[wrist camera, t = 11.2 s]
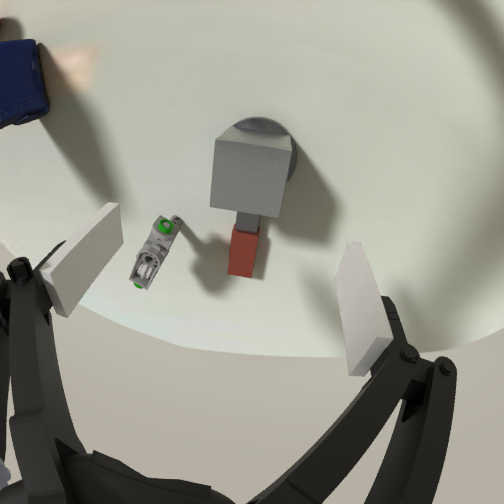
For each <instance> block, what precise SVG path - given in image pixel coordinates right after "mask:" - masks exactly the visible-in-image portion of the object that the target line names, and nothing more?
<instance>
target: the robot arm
mask: <svg viewBox="0 0 504 504" xmlns="http://www.w3.org/2000/svg"><path fill="white" fill-rule="evenodd" d="M123 243H124V242H123V235H122V227H121V218H120V209H119V203H111V202H108V203H107V204H106V205H105V206H104V207H102V208H101V209H100V210H99V211H98V212H97V213H96V214H94V215H93V216H92V217H91V218H90V219H89V220H88V221H87V222H86V223H85V224H83V225H82V226H81V227H80V228H79V229H78V230H77V231H76V232H75V233H74V234H73V235H72V236H71V237H70V238H69V239H68V240H67V241H66V240H65V241H63V242H61V243H60V244H58V245H57V246H56V247H55V248H54V249H53V250H52V251H51V252H50V253H49V254H48V255H47V257H45V258H44V259H43V260H42V261H41V262H40V263H39V264H38V265H37V266H36V267H35V269H34V270H32V267H31V265H30V262H29V259H28V258H27V257H19V258H16V259H15V260H13V261H12V262H11V263H10V264H9V265H8V266H7V271H8V274H9V276H10V278H11V280H6V279H5V277H4V274H3V273H2V272H0V504H235V503H234V502H233V501H232V500H231V499H229V498H228V497H226V496H225V495H223V494H221V493H219V492H217V491H215V490H212V489H211V486H208V485H203V484H198V483H193V482H189V481H184V480H180V479H158V478H148V477H145V476H143V475H141V474H140V473H138V472H136V471H135V470H133V469H132V468H130V467H129V466H127V465H125V464H124V463H122V462H121V461H119V460H117V459H114V458H111V457H109V456H107V455H104V454H102V453H100V452H97V451H95V450H94V451H93V453H92V454H87V453H86V451H85V448H84V447H83V445H82V443H81V441H80V440H79V438H78V437H77V435H76V432H75V429H74V426H73V423H72V420H71V416H70V413H69V409H68V406H67V402H66V398H65V394H64V389H63V385H62V381H61V376H60V371H59V366H58V360H57V355H56V348H55V342H54V334H53V326H52V316H51V313H50V309H51V307H52V306H53V307H54V309H55V311H56V313H57V314H58V315H61V316H64V317H66V318H68V317H69V315H70V314H71V312H72V311H73V310H74V308H75V307H76V305H77V304H78V302H79V301H80V300H81V298H82V297H83V295H84V294H85V293H86V291H87V290H88V288H89V287H90V286H91V284H92V283H93V282H94V280H95V279H96V278H97V276H98V275H99V274H100V272H101V271H102V270H103V268H104V267H105V266H106V264H107V263H108V262H109V261H110V259H111V258H112V257H113V256H114V254H115V253H116V252H117V251H118V249H119V248H120V247H121V246H122V244H123ZM334 282H335V287H336V293H337V298H338V304H339V310H340V316H341V322H342V328H343V335H344V342H345V349H346V356H347V363H348V372H349V376H365V375H366V373H368V371H369V370H370V371H371V376H372V377H371V378H370V379H369V380H368V382H367V383H366V384H365V385H364V386H363V387H362V390H361V391H360V392H359V393H358V395H357V396H356V397H355V399H354V400H353V401H352V402H351V403H350V405H349V406H348V407H347V409H346V410H345V411H344V412H343V413H342V414H341V415H340V417H339V418H338V419H337V420H336V421H335V422H334V423H333V425H332V426H331V427H330V428H329V429H328V430H327V431H326V432H325V433H324V435H323V436H322V437H321V438H320V439H319V440H318V441H317V442H316V443H315V444H314V445H313V446H312V447H311V448H310V449H309V450H308V451H307V452H306V453H305V454H304V455H303V456H302V457H301V458H300V459H299V460H298V461H297V462H296V463H295V464H294V465H293V466H292V467H291V468H289V469H288V470H287V471H286V472H285V473H284V474H283V475H282V476H281V477H280V478H278V479H277V480H276V481H275V482H274V483H272V484H271V485H270V486H269V487H267V488H266V489H265V490H263V491H262V492H261V493H259V494H258V495H257V496H255V497H254V498H253V499H252V500H250V501H249V502H248V503H246V504H322V503H323V501H324V500H325V499H326V498H327V497H328V496H329V495H330V494H331V493H332V492H333V491H334V490H335V488H336V487H337V486H338V485H339V484H340V483H341V482H342V480H343V479H344V478H345V477H346V476H347V475H348V473H349V472H350V471H351V470H352V469H353V467H354V466H355V465H356V463H357V462H358V461H359V460H360V458H361V457H362V456H363V454H364V453H365V452H366V450H367V449H368V448H369V446H370V445H371V444H372V442H373V441H374V439H375V438H376V437H377V435H378V434H379V432H380V431H381V429H382V428H383V426H384V425H385V423H386V422H387V420H388V419H389V417H390V415H391V414H392V412H393V411H394V409H395V407H396V406H397V404H398V402H399V400H400V399H402V404H401V408H400V411H399V415H398V418H397V421H396V425H395V428H394V431H393V434H392V437H391V440H390V443H389V446H388V449H387V451H386V454H385V456H384V459H383V462H382V464H381V467H380V469H379V471H378V474H377V476H376V479H375V481H374V483H373V486H372V488H371V490H370V492H369V494H368V496H367V498H366V500H365V503H364V504H432V502H433V499H434V496H435V493H436V489H437V486H438V483H439V479H440V476H441V472H442V468H443V464H444V460H445V456H446V451H447V447H448V442H449V437H450V431H451V425H452V418H453V411H454V403H455V393H456V381H457V369H456V367H455V365H454V363H453V362H452V361H451V360H450V359H448V358H447V357H443V356H442V357H438V358H437V359H436V360H435V361H434V362H431V361H428V360H425V359H422V358H420V355H419V353H418V351H417V350H416V349H415V348H414V347H413V346H412V345H410V344H408V343H407V340H406V337H405V333H404V330H403V327H402V324H401V321H400V318H399V315H398V314H397V310H396V307H395V304H394V303H393V302H392V301H391V299H390V298H389V297H386V296H380V293H379V290H378V287H377V284H376V281H375V279H374V276H373V273H372V270H371V268H370V265H369V262H368V260H367V257H366V254H365V252H364V249H363V247H362V244H361V243H356V242H351V241H349V242H348V244H347V247H346V250H345V253H344V255H343V258H342V261H341V263H340V266H339V268H338V271H337V274H336V276H335V279H334ZM10 375H11V385H12V395H13V403H14V410H15V414H14V416H12V417H10V419H9V426H10V432H11V437H12V442H13V446H14V450H15V455H16V459H17V462H18V465H19V470H20V472H21V476H22V480H20V481H17V482H15V483H13V484H11V485H8V483H7V481H9V480H10V478H11V473H10V471H9V469H8V468H6V467H5V465H4V461H5V452H6V421H7V418H6V417H7V402H8V401H7V400H8V391H9V381H10Z"/></svg>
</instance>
